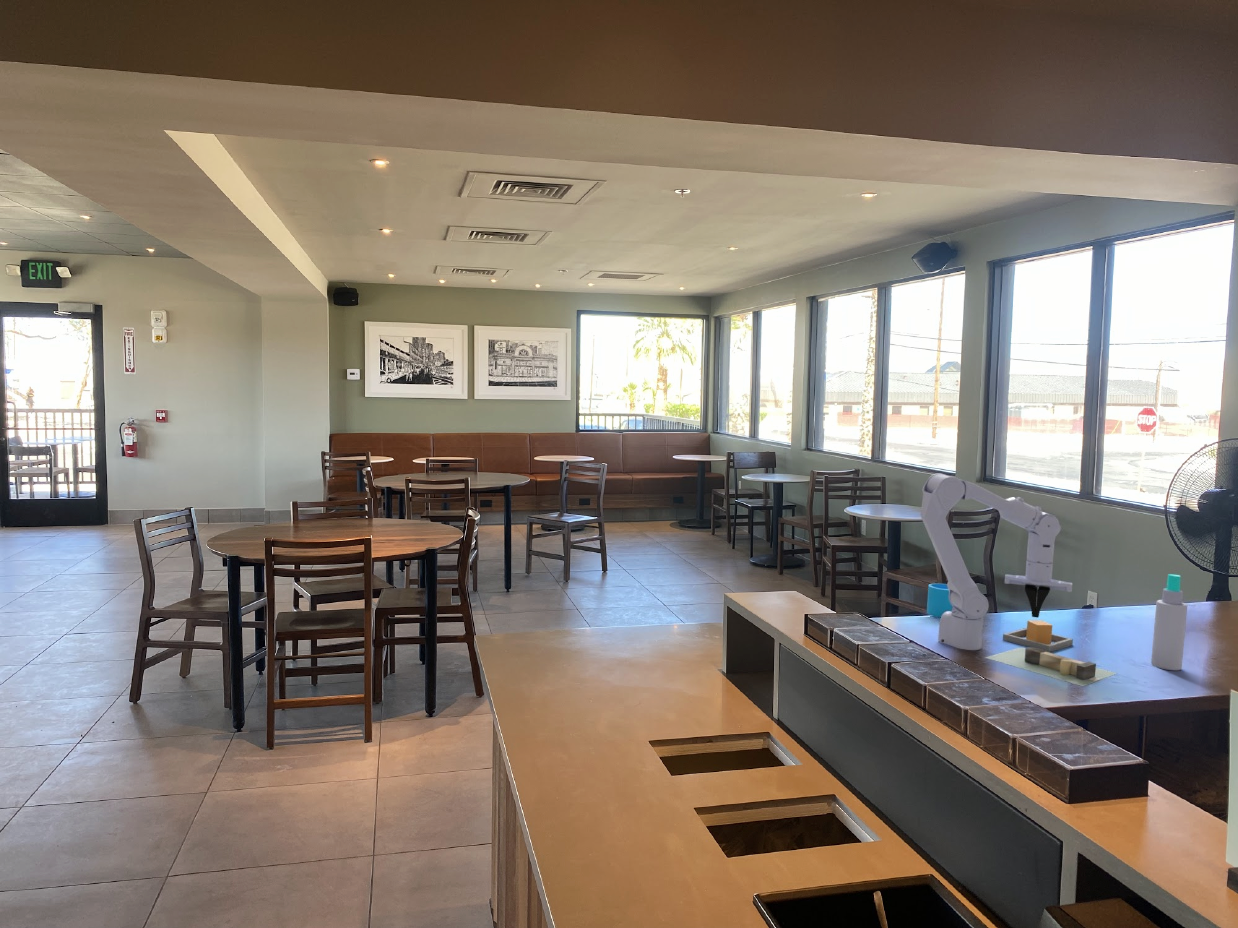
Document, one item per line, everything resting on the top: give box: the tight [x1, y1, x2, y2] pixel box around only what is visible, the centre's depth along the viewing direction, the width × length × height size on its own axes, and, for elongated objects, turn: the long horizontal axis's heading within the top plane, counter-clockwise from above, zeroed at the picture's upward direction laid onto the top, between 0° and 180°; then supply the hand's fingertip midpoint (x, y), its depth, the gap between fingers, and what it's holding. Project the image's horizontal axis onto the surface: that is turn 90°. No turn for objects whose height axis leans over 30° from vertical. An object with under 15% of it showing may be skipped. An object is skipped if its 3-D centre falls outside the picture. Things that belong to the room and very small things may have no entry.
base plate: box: [984, 646, 1118, 687], centre depth 187 cm, size 22×16×4 cm
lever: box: [1025, 647, 1097, 680], centre depth 185 cm, size 14×5×3 cm, turn 34°
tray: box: [1002, 627, 1074, 653], centre depth 206 cm, size 12×12×3 cm
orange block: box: [1025, 620, 1053, 645], centre depth 205 cm, size 4×4×6 cm
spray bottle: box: [1150, 573, 1188, 672], centre depth 193 cm, size 6×6×22 cm
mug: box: [926, 583, 953, 618], centre depth 235 cm, size 12×8×8 cm
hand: (1035, 616), depth 200 cm, fingers closed
